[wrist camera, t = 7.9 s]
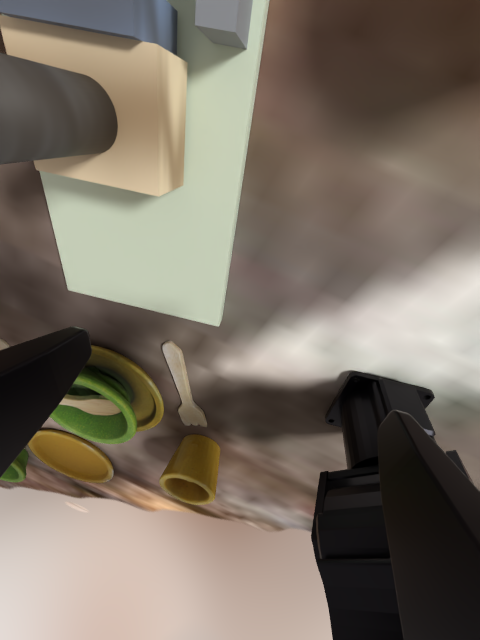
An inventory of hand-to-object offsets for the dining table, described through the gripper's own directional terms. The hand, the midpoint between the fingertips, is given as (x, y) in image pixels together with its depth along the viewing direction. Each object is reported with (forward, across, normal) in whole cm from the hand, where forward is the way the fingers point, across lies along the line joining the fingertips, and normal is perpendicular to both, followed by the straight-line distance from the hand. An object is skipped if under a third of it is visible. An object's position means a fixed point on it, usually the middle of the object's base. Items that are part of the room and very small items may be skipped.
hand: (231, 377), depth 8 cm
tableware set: (+13, +21, +28) cm, 37 cm away
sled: (+10, +8, -6) cm, 14 cm away
